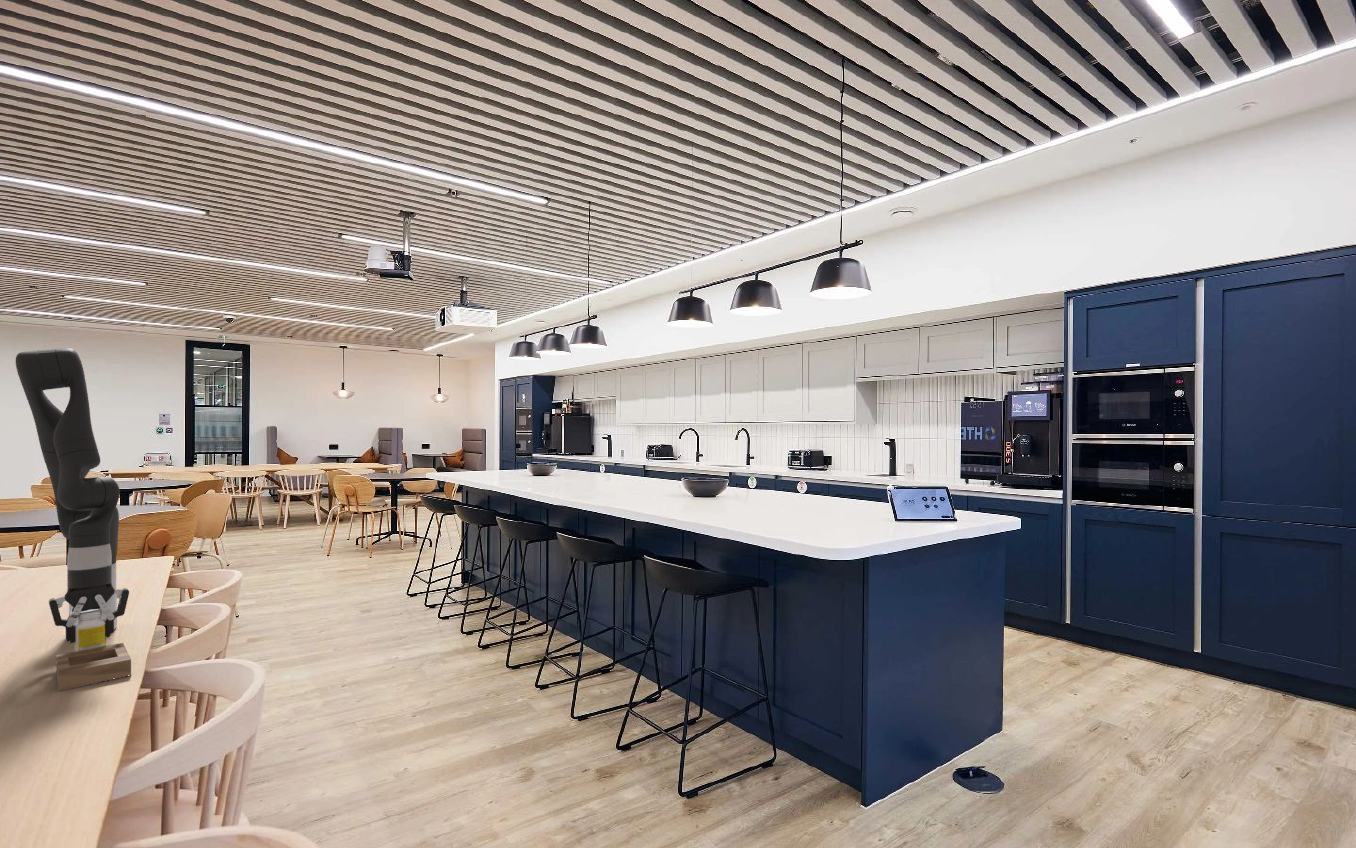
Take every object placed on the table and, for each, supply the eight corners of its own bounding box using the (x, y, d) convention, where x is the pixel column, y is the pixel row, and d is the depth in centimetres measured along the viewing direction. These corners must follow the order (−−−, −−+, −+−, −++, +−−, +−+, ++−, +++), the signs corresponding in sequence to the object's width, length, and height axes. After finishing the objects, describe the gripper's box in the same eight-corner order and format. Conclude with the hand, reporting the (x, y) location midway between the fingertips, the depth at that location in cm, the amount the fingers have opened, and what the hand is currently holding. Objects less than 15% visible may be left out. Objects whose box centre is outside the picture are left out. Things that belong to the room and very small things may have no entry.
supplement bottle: (111, 651, 150) (111, 609, 150) (84, 659, 145) (83, 615, 145) (96, 649, 152) (95, 607, 152) (68, 657, 147) (67, 613, 147)
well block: (56, 671, 140) (56, 655, 140) (123, 658, 148) (123, 642, 148) (58, 691, 128) (58, 673, 128) (131, 676, 136) (131, 659, 136)
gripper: (46, 572, 141) (47, 651, 140) (132, 562, 151) (133, 635, 151) (45, 568, 146) (45, 643, 146) (128, 558, 156) (129, 628, 156)
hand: (90, 639), depth 148 cm, fingers closed on supplement bottle, 5 cm apart
